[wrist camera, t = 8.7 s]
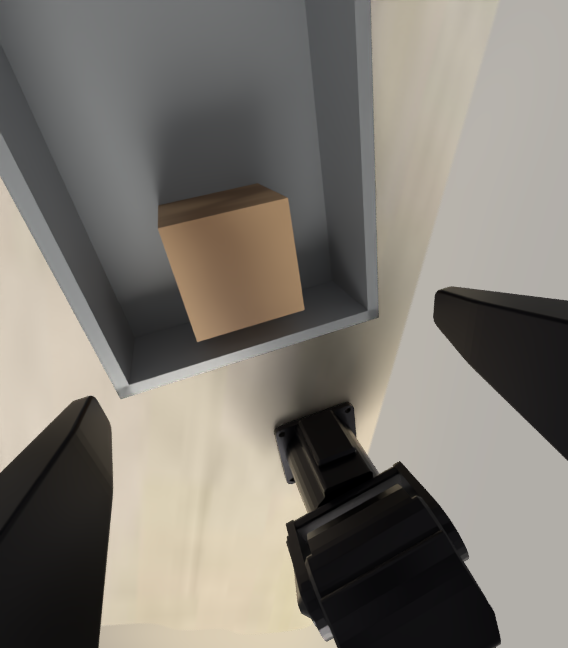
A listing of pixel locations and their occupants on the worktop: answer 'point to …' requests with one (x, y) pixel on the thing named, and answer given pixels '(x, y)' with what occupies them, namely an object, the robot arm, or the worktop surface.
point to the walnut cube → (232, 258)
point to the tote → (188, 159)
